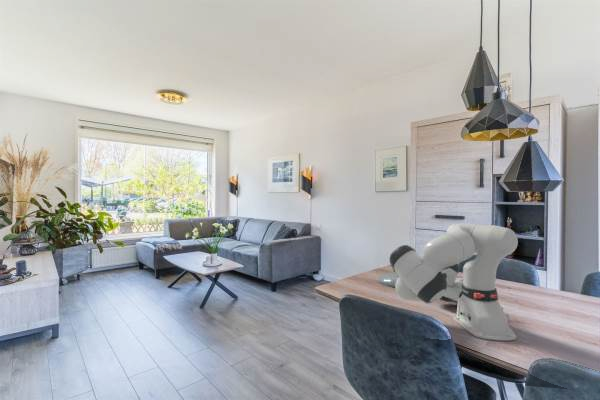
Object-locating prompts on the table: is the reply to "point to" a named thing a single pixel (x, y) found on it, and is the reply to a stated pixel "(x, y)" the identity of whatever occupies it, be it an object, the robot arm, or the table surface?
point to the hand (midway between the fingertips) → (443, 278)
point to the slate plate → (388, 279)
